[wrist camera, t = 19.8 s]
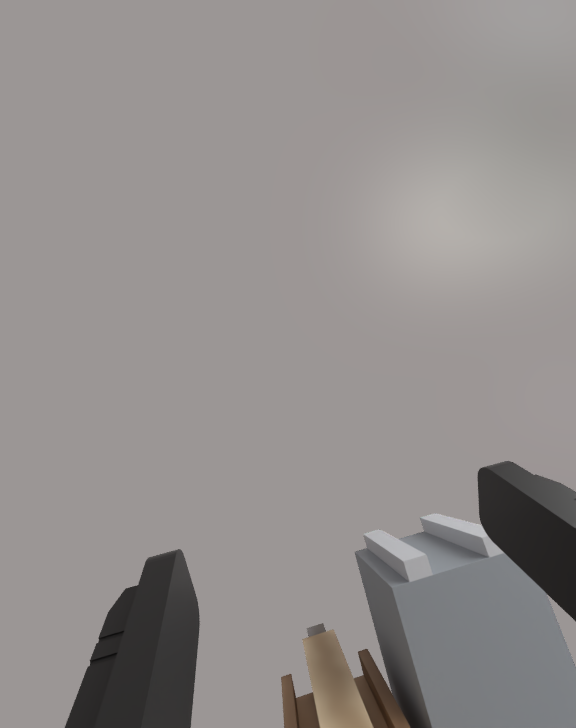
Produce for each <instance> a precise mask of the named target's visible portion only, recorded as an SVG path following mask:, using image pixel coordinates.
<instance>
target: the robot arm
mask: <svg viewBox="0 0 576 728" xmlns="http://www.w3.org/2000/svg"><path fill="white" fill-rule="evenodd" d="M478 493H479V515H480V521H481V524H482V526H483V528H484V530H485V532H486V534H487V535H488V537H489V538H490V539H491V540H492V542H493V543H494V544H496V545H497V546H498V547H499V548H500V549H501V550H502V551H503V552H504V553H505V554H506V555H507V556H508V557H509V558H510V559H511V560H512V561H513V562H514V563H515V564H516V565H517V566H518V567H520V568H521V569H522V570H523V571H524V572H525V573H526V574H527V575H528V576H529V577H530V578H531V579H532V580H533V581H534V582H535V583H536V584H537V585H538V586H539V587H540V588H541V589H543V590H544V591H545V592H546V593H547V594H548V595H549V596H550V597H551V598H552V599H553V600H554V601H555V602H556V603H557V604H558V605H559V606H560V607H561V608H562V609H563V610H565V612H567V613H568V614H569V615H570V616H571V617H572V618H573V619H574V620H575V621H576V492H575V491H573V490H572V489H570V488H568V487H566V486H565V485H563V484H561V483H558V482H555V481H553V480H550V479H547V478H544V477H541V476H538V475H533V474H531V473H530V472H528V471H526V470H525V469H523V468H521V467H520V466H518V465H516V464H515V463H513V462H510V461H505V462H501V463H498V464H494V465H490V466H487V467H483V468H481V469H480V470H479V472H478ZM198 638H199V608H198V602H197V597H196V594H195V591H194V587H193V584H192V581H191V578H190V574H189V571H188V567H187V564H186V561H185V558H184V555H183V552H182V551H181V550H180V549H178V550H175V551H171V552H167V553H164V554H160V555H156V556H153V557H149V558H148V559H147V560H146V562H145V566H144V568H143V572H142V575H141V578H140V581H139V585H137V586H134V587H130V588H126V589H125V590H124V592H123V593H122V594H121V596H120V597H119V598H118V600H117V601H116V603H115V604H114V605H113V607H112V608H111V609H110V611H109V612H108V614H107V617H106V620H105V623H104V625H103V628H102V630H101V633H100V636H99V642H98V643H97V644H96V646H95V649H94V652H93V654H92V657H91V660H90V666H89V667H88V668H87V670H86V673H85V675H84V678H83V681H82V684H81V686H80V689H79V691H78V694H77V697H76V700H75V702H74V705H73V707H72V710H71V713H70V716H69V718H68V721H67V723H66V726H65V728H190V727H191V716H192V705H193V694H194V683H195V671H196V659H197V649H198Z"/></svg>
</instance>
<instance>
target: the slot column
mask: <svg viewBox="0 0 576 728" xmlns="http://www.w3.org/2000/svg"><path fill="white" fill-rule="evenodd" d="M420 520H421V523H422V526H423V529H424V532H421V533H417V534H414V535H411V536H407V537H404V538H401V539H397V538H395V537H393V536H391V535H389V534H388V533H386V532H384V531H382V530H380V529H379V530H375V531H372V532H368V533H365V534H364V538H365V542H366V545H367V548H366V549H363V550H359V551H356V552H355V555H356V559H357V563H358V567H359V570H360V574H361V578H362V582H363V585H364V589H365V593H366V597H367V600H368V604H369V608H370V611H371V615H372V619H373V623H374V627H375V630H376V634H377V638H378V642H379V645H380V649H381V653H382V656H383V660H384V664H385V668H386V672H387V675H388V679H389V683H390V687H391V691H392V694H393V697H394V698H395V700H396V702H397V704H398V706H399V707H400V709H401V711H402V713H403V715H404V717H405V718H406V720H407V722H408V724H409V726H410V727H411V728H576V667H575V664H574V662H573V659H572V657H571V654H570V652H569V649H568V647H567V644H566V642H565V639H564V637H563V634H562V632H561V629H560V627H559V624H558V622H557V619H556V617H555V614H554V612H553V609H552V607H551V604H550V601H549V599H548V597H547V594H546V592H545V591H544V590H543V589H541V588H540V587H539V586H538V585H537V584H536V583H535V582H534V581H533V580H532V579H531V578H530V577H529V576H528V575H527V574H526V573H525V572H524V571H523V570H522V569H521V568H520V567H518V566H517V565H516V564H515V563H514V562H513V561H512V560H511V559H510V558H509V557H508V556H507V555H506V554H505V553H504V552H503V551H502V550H501V549H500V548H499V547H498V546H497V545H496V544H494V543H493V542H492V540H491V539H490V538H489V537H488V535H487V534H486V532H485V530H484V528H483V526H482V525H478V524H474V523H471V522H467V521H463V520H459V519H456V518H452V517H448V516H444V515H440V514H436V513H435V514H431V515H428V516H424V517H421V518H420Z"/></svg>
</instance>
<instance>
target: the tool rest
mask: <svg viewBox="0 0 576 728" xmlns="http://www.w3.org/2000/svg"><path fill="white" fill-rule="evenodd" d="M358 654H359V658H360V662H361V666H362V670H363V674H364V675H363V676H360V677H357V678H354V681H355V684H356V686H357V689H358V691H359V694H360V696H361V698H362V701H363V703H364V706H365V708H366V711H367V713H368V716H369V718H370V721H371V723H372V726H373V728H411V727H410V726H409V724H408V722H407V720H406V718H405V717H404V715H403V713H402V711H401V709H400V707H399V706H398V704H397V702H396V700H395V698H394V697H393V695H392V693H391V691H390V690H389V687H388V686H387V684H386V682H385V680H384V678H383V677H382V675H381V673H380V671H379V670H378V668H377V666H376V664H375V662H374V660H373V658H372V657H371V655H370V653H369V651H368V649H365V650H362V651H359V652H358ZM281 680H282V697H283V712H284V728H320V724H319V719H318V714H317V709H316V704H315V699H314V695H313V692H312V693H310V694H307V695H304V696H301V697H298V698H296V696H295V691H294V686H293V681H292V676H291V674H289V675H286V676H283V677H281Z"/></svg>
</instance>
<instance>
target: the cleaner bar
mask: <svg viewBox="0 0 576 728" xmlns="http://www.w3.org/2000/svg"><path fill="white" fill-rule="evenodd" d="M307 630H308V636H309V637H308V638H305V639H303V644H304V649H305V654H306V660H307V664H308V670H309V675H310V680H311V684H312V689H313V695H314V699H315V704H316V709H317V714H318V719H319V724H320V728H373V726H372V723H371V721H370V718H369V716H368V713H367V711H366V708H365V706H364V703H363V701H362V698H361V696H360V694H359V691H358V689H357V686H356V684H355V681H354V679H353V676H352V674H351V671H350V669H349V666H348V664H347V662H346V659H345V657H344V654H343V652H342V649H341V647H340V644H339V642H338V639H337V637H336V634H335V632H334V630H330V631H327V632H326V630H325V628H324V625H323V624H319V625H316V626H313V627H310V628H307Z"/></svg>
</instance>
